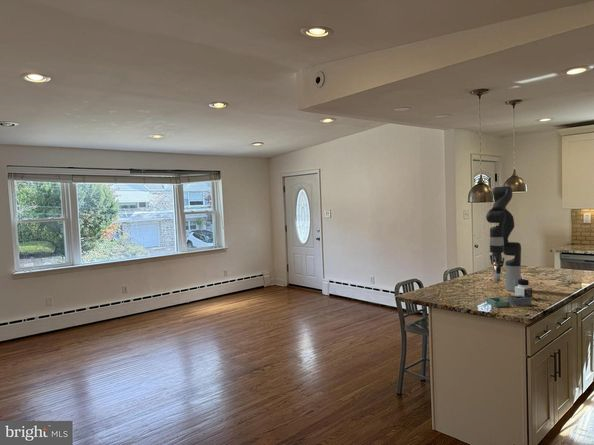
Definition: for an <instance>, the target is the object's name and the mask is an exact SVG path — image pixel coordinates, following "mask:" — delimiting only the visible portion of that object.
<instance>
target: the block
mask: <svg viewBox="0 0 594 445" xmlns="http://www.w3.org/2000/svg"><path fill="white" fill-rule="evenodd" d="M507 301H508V302H509V305H513V306H515V307H526V306H527V307H528V306H532V298H531V299H530V298H528V297H525V296H523V295H521V296H515V295H508V296H507Z"/></svg>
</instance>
